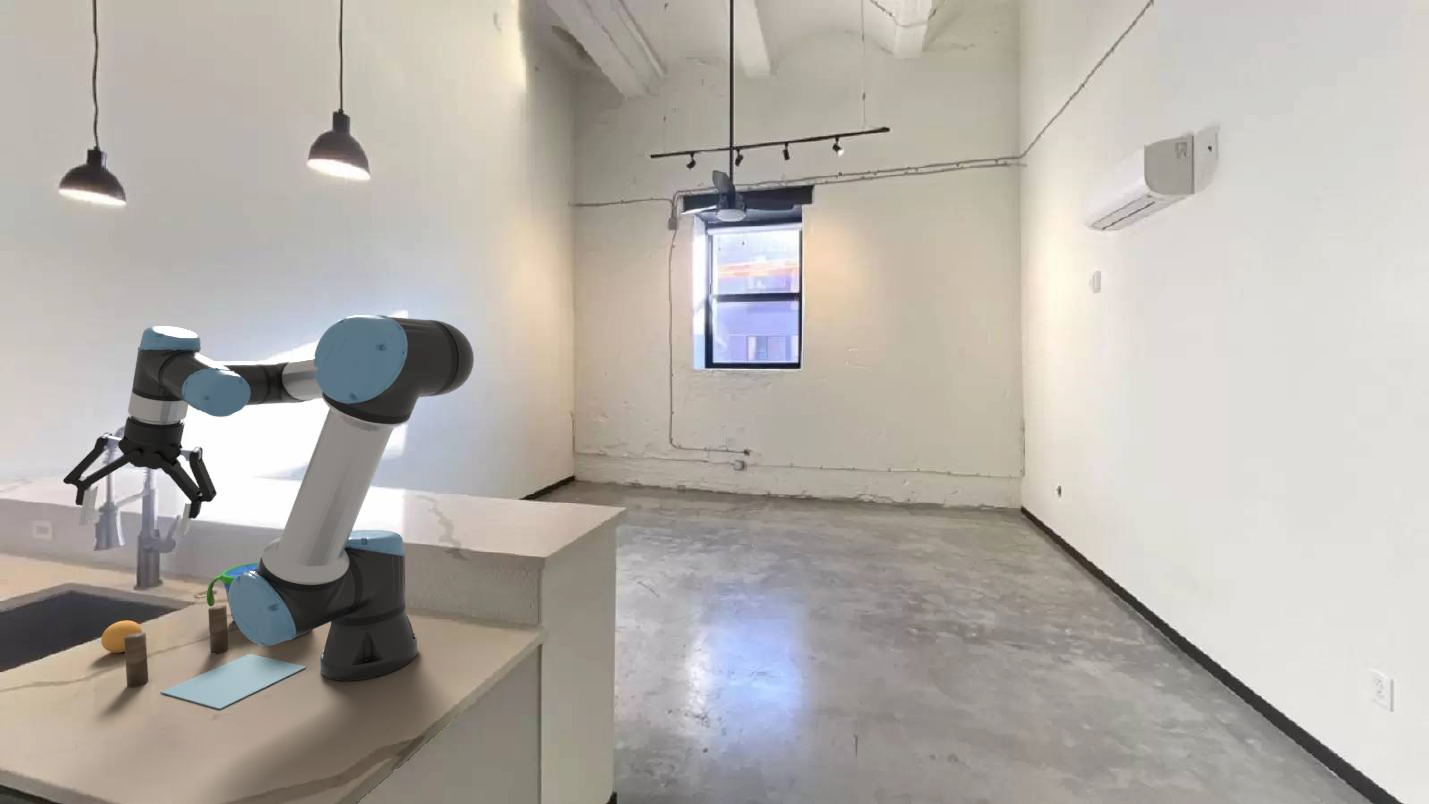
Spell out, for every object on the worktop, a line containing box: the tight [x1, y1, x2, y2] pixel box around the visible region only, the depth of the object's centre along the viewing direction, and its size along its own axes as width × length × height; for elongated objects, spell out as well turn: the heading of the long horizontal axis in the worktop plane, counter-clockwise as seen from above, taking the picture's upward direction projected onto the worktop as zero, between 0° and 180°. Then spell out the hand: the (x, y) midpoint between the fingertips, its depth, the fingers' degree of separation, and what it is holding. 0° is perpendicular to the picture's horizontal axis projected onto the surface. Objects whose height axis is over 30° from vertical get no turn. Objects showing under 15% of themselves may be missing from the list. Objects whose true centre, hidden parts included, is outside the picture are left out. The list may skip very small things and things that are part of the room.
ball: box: [100, 620, 143, 654], centre depth 116 cm, size 6×6×6 cm
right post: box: [207, 604, 229, 654], centre depth 116 cm, size 3×3×8 cm
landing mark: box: [159, 653, 307, 710], centre depth 106 cm, size 14×14×1 cm
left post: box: [124, 632, 149, 688], centre depth 104 cm, size 3×3×8 cm
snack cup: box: [206, 561, 260, 622], centre depth 131 cm, size 16×10×10 cm
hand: (136, 527), depth 112 cm, fingers open, 13 cm apart
